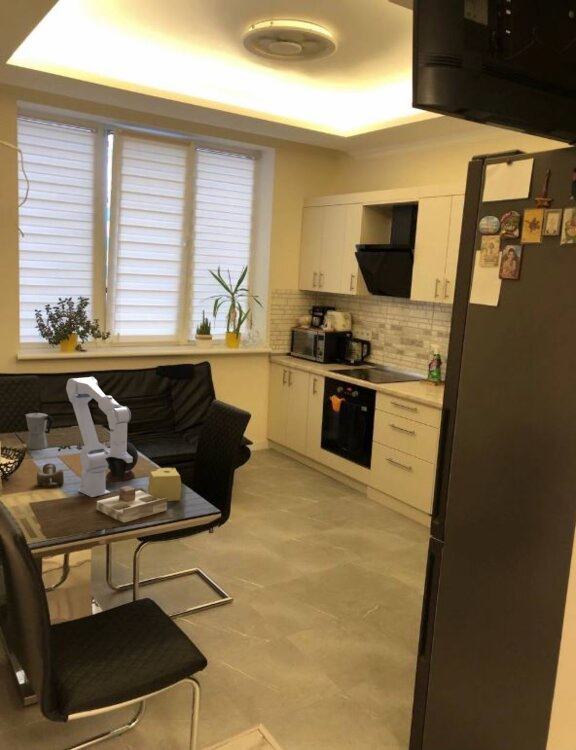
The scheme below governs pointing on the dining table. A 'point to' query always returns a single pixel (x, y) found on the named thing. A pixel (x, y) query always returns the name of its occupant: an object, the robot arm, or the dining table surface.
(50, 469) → the kendama
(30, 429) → the coffeepot
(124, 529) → the dining table surface
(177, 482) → the cheese
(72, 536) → the dining table surface
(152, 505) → the divided wooden tray
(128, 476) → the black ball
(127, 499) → the walnut cube
